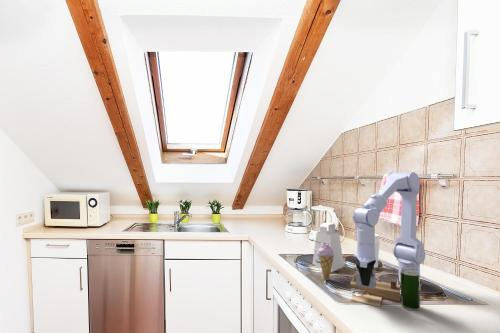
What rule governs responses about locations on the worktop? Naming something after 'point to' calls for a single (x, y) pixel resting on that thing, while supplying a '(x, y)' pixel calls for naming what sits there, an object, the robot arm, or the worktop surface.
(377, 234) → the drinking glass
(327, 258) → the ice cream cone
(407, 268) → the beer can
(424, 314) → the worktop surface
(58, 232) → the worktop surface
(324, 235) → the grater
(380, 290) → the body
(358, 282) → the grey block with knob
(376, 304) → the cork trivet
